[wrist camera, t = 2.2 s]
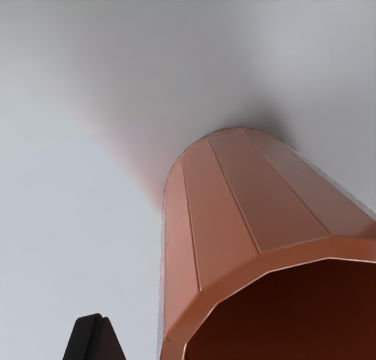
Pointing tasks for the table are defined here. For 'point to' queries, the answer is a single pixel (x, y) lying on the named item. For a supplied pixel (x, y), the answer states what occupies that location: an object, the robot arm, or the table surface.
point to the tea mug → (263, 256)
